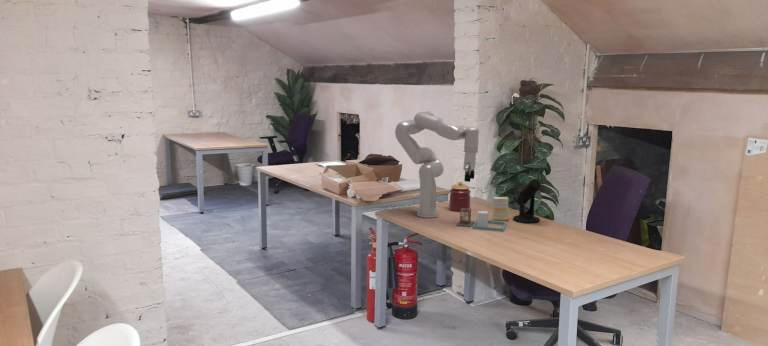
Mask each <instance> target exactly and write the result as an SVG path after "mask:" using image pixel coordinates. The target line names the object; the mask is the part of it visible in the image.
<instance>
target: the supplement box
mask: <svg viewBox="0 0 768 346" xmlns="http://www.w3.org/2000/svg"><path fill="white" fill-rule="evenodd" d="M509 201H510V198H509V197H508V196H493V204H492V205H493V207H492V213H493V214H492V219H493V221H508V220H509Z"/></svg>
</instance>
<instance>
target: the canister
mask: <svg viewBox="0 0 768 346" xmlns="http://www.w3.org/2000/svg"><path fill="white" fill-rule="evenodd" d="M450 187H451V189H450V190H449V192H450V195H449V210H450V211H454V212H459V213H460V211H461V209H462V208H471V197H472V196H471V192H472V191H471V190H470V186H468V184H463V182H462V181H459V182H458V183H455V184H453V185H451V186H450Z"/></svg>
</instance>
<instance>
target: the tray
mask: <svg viewBox="0 0 768 346" xmlns="http://www.w3.org/2000/svg"><path fill="white" fill-rule="evenodd" d="M489 224H490V225H500V226H502V227H492V226H487V227H482V226H477V219H476V220H475V221H474V224H473V225H472V227H471V228H472V229H473V230H484V231H493V232H494V231H495V232H502V233H503V232H505V231H504V230H505V229H506V226H507V221H500V220H488V225H489Z"/></svg>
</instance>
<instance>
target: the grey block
mask: <svg viewBox="0 0 768 346" xmlns="http://www.w3.org/2000/svg"><path fill="white" fill-rule="evenodd" d="M488 218H489V211H487V210H478V212H477V219H476V220H477V225H476V226H482V227H488V225H489V224H488V221H489V219H488Z"/></svg>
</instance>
